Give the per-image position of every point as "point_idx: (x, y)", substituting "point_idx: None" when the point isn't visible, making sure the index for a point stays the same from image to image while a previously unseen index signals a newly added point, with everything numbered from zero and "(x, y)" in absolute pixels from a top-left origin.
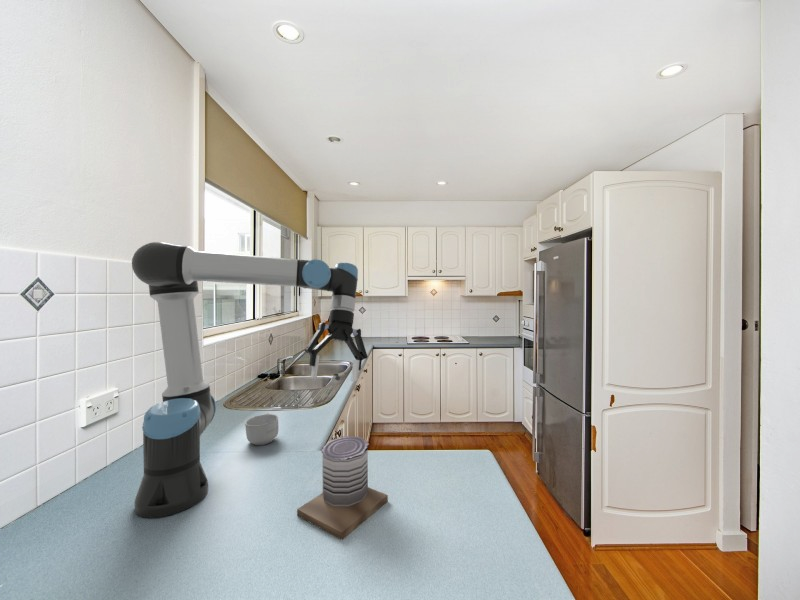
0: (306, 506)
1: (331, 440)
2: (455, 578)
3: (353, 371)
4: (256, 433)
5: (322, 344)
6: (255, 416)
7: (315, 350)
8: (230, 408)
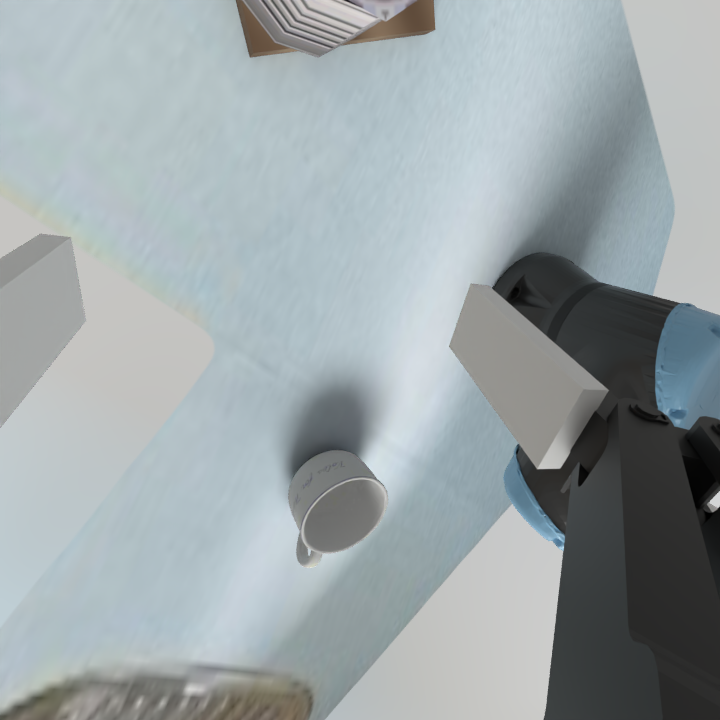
0: (415, 16)
1: (376, 12)
2: None
3: (37, 343)
4: (364, 466)
5: (675, 513)
6: (348, 548)
7: (667, 433)
8: (306, 689)
